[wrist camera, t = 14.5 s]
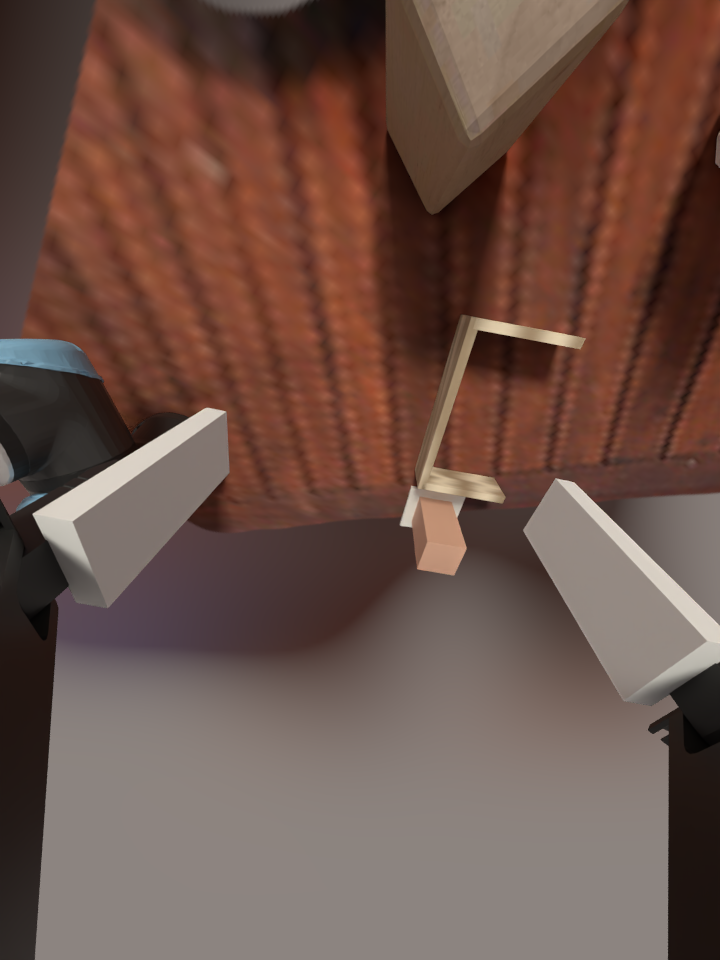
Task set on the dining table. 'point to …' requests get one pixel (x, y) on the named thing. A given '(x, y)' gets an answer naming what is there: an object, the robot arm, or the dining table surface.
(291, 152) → the dining table surface
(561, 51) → the wooden block
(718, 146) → the vase
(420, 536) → the terracotta block
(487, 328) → the frame
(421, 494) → the white tile
